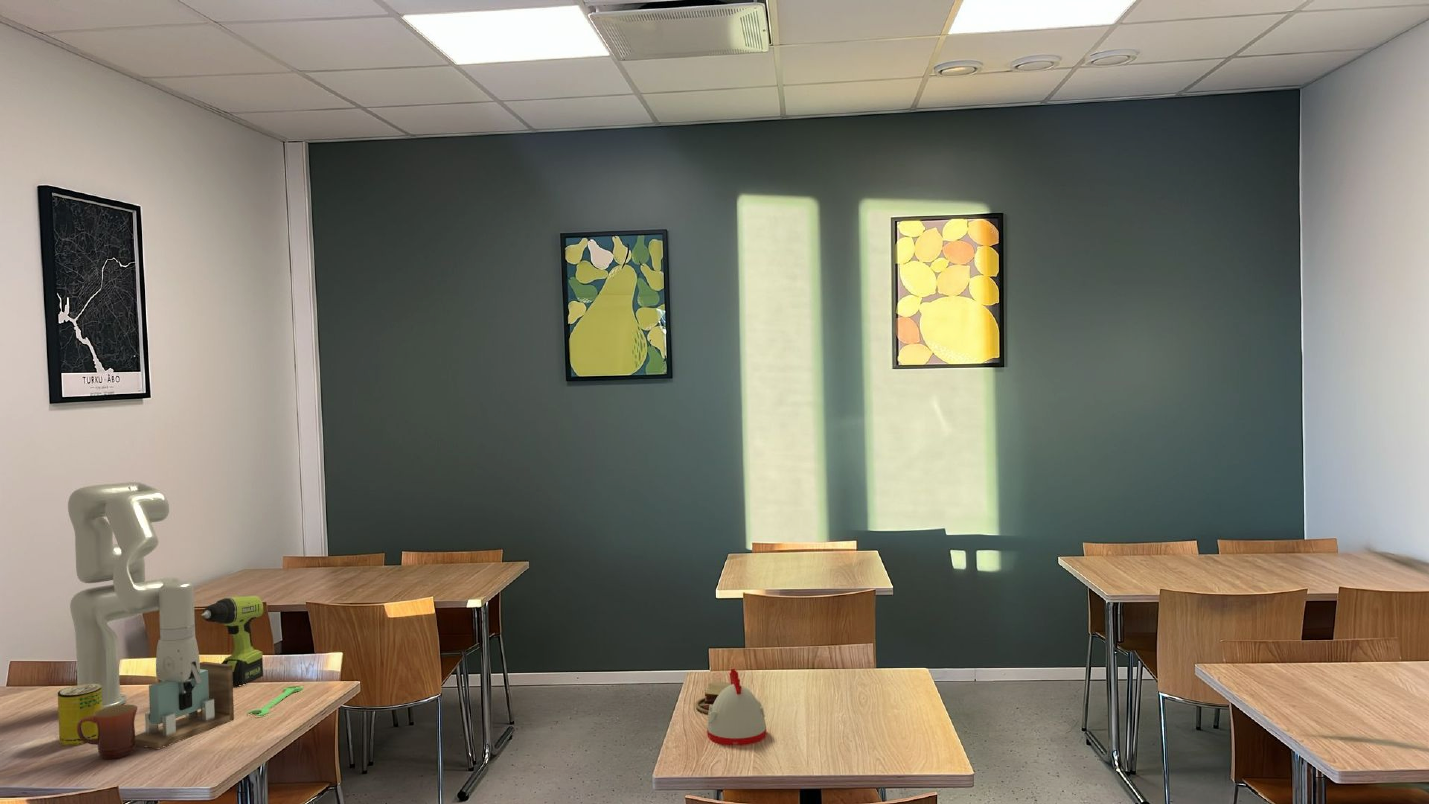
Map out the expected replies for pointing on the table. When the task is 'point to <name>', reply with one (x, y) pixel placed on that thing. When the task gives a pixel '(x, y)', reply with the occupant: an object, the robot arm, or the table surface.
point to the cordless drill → (239, 634)
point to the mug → (112, 731)
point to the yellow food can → (78, 712)
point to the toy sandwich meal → (711, 695)
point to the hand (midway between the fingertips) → (180, 707)
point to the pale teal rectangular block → (175, 698)
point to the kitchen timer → (736, 716)
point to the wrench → (276, 700)
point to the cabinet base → (195, 722)
